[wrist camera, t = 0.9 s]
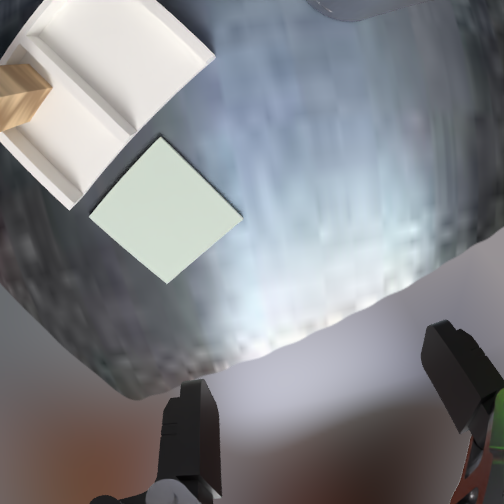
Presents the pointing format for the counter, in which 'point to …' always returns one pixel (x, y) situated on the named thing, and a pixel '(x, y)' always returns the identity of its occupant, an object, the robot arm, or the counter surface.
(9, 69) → the oak block
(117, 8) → the tray
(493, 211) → the counter surface
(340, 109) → the counter surface
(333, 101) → the counter surface
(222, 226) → the sage mat
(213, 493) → the robot arm
